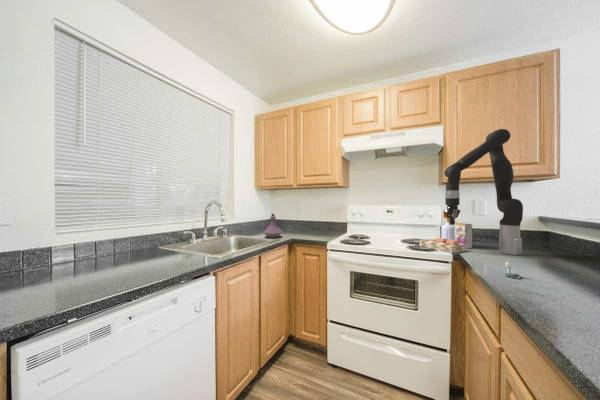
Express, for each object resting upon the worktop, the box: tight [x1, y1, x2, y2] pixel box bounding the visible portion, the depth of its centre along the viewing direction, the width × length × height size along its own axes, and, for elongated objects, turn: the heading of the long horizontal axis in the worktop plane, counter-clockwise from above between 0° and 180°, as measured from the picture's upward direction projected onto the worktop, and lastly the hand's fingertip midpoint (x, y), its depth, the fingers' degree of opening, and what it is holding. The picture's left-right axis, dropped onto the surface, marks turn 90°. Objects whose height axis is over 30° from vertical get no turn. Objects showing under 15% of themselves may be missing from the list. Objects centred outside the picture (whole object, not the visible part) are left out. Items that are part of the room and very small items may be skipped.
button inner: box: [446, 239, 458, 245], centre depth 144 cm, size 5×5×3 cm
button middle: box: [435, 237, 447, 243], centre depth 151 cm, size 5×5×3 cm
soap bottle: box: [440, 210, 455, 240], centre depth 178 cm, size 9×9×25 cm
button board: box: [419, 238, 467, 254], centre depth 151 cm, size 22×14×4 cm, turn 24°
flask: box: [263, 213, 283, 239], centre depth 194 cm, size 16×16×20 cm
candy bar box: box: [454, 221, 473, 249], centre depth 155 cm, size 11×5×16 cm, turn 179°
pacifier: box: [502, 261, 522, 279], centre depth 97 cm, size 7×6×6 cm
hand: (452, 224), depth 144 cm, fingers closed
